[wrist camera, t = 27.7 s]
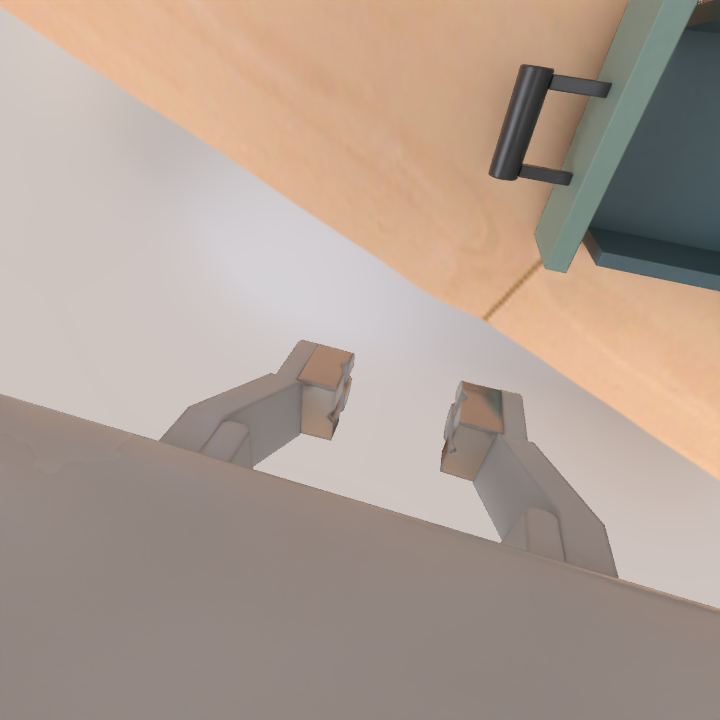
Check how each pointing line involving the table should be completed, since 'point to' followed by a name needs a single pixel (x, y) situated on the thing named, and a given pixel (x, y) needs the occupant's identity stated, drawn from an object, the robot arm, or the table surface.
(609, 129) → the drawer
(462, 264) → the table surface
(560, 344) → the table surface
